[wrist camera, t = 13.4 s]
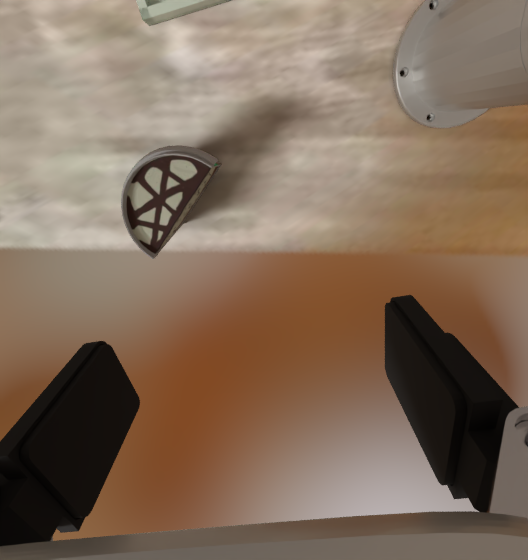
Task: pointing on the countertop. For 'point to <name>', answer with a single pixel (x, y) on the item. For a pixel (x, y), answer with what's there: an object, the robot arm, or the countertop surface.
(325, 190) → the countertop surface
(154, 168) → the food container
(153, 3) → the tray
